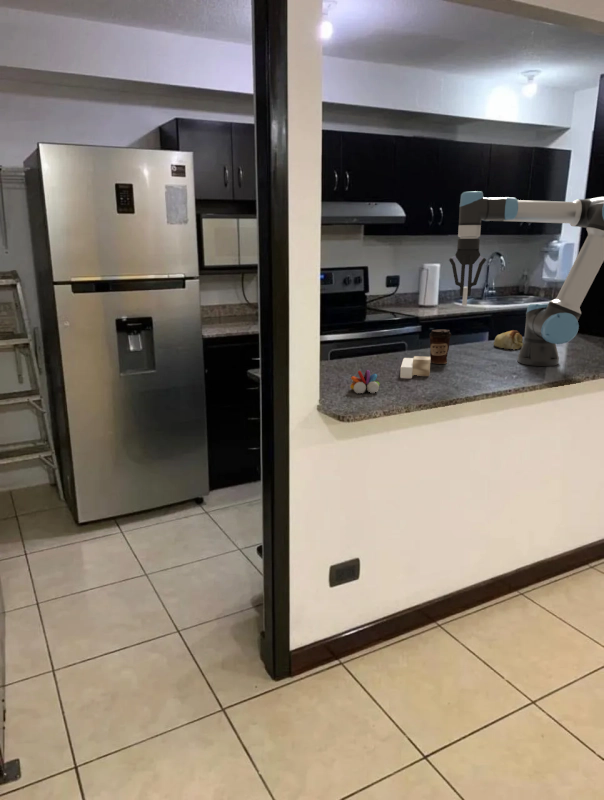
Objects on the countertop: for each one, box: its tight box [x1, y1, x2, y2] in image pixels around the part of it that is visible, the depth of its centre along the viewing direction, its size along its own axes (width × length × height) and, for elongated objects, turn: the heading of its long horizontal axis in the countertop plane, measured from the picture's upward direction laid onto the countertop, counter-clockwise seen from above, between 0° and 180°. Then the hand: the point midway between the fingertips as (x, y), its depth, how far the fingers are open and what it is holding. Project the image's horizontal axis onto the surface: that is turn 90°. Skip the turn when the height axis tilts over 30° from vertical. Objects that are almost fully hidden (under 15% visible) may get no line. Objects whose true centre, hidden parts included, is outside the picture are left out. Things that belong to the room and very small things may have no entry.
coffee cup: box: [429, 328, 452, 365], centre depth 233 cm, size 9×8×13 cm
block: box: [412, 355, 431, 377], centre depth 217 cm, size 6×6×6 cm
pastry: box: [493, 329, 524, 351], centre depth 264 cm, size 14×12×8 cm
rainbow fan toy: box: [349, 369, 381, 394], centre depth 194 cm, size 8×10×7 cm
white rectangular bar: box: [399, 357, 414, 379], centre depth 219 cm, size 4×16×4 cm, turn 167°
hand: (464, 305), depth 215 cm, fingers closed
